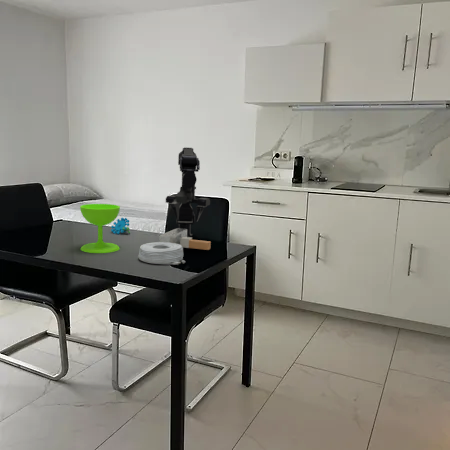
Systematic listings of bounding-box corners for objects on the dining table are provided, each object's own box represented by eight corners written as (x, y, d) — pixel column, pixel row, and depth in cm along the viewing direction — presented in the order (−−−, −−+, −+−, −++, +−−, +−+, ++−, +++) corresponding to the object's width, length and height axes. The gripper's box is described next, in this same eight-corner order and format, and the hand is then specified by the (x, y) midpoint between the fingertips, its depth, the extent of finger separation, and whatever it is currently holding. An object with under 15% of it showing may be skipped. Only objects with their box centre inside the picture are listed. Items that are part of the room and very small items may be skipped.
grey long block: (177, 240, 214) (177, 228, 213) (186, 241, 213) (187, 229, 212) (159, 248, 195) (159, 235, 194) (169, 250, 194) (170, 236, 193)
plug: (183, 245, 205) (183, 236, 204) (210, 248, 201) (211, 239, 200) (180, 247, 201) (180, 238, 200) (207, 250, 197) (208, 241, 197)
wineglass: (93, 255, 180) (93, 210, 177) (73, 247, 190) (72, 205, 187) (127, 249, 191) (127, 207, 188) (106, 242, 202) (106, 203, 199)
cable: (187, 265, 172) (187, 249, 171) (140, 266, 167) (141, 250, 166) (178, 254, 188) (179, 240, 187) (136, 255, 183) (136, 240, 182)
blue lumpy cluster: (106, 229, 225) (119, 214, 228) (112, 236, 229) (125, 221, 232) (120, 235, 218) (133, 220, 222) (126, 242, 222) (139, 227, 226)
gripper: (160, 184, 189) (159, 220, 191) (201, 187, 183) (200, 225, 186) (171, 182, 199) (170, 217, 202) (211, 185, 193) (209, 221, 196)
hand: (187, 220), depth 196 cm, fingers open, 9 cm apart
